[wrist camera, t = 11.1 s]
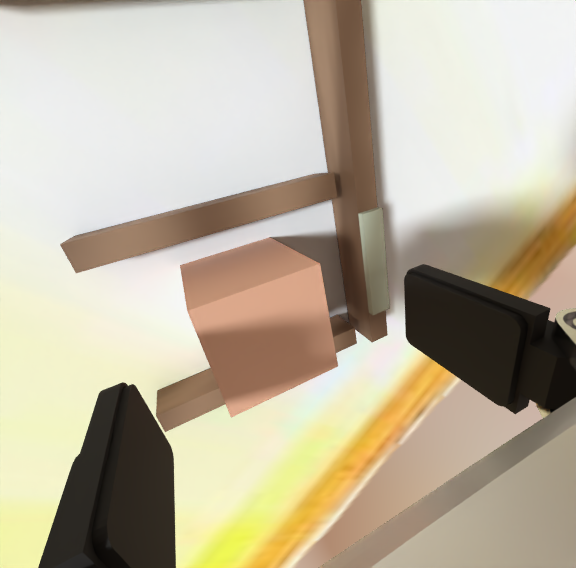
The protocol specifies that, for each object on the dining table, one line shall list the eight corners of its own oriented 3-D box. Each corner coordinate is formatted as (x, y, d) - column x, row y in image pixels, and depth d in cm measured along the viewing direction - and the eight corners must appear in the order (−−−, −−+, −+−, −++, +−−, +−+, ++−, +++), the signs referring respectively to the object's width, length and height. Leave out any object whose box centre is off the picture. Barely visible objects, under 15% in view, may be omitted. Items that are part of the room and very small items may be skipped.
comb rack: (320, -56, 12) (358, -117, 10) (363, 318, 20) (391, 338, 18) (-78, -52, 9) (-178, -147, 6) (165, 405, 17) (165, 445, 14)
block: (269, 237, 16) (320, 263, 11) (288, 312, 18) (337, 366, 13) (180, 265, 15) (187, 311, 9) (210, 343, 17) (231, 417, 11)
